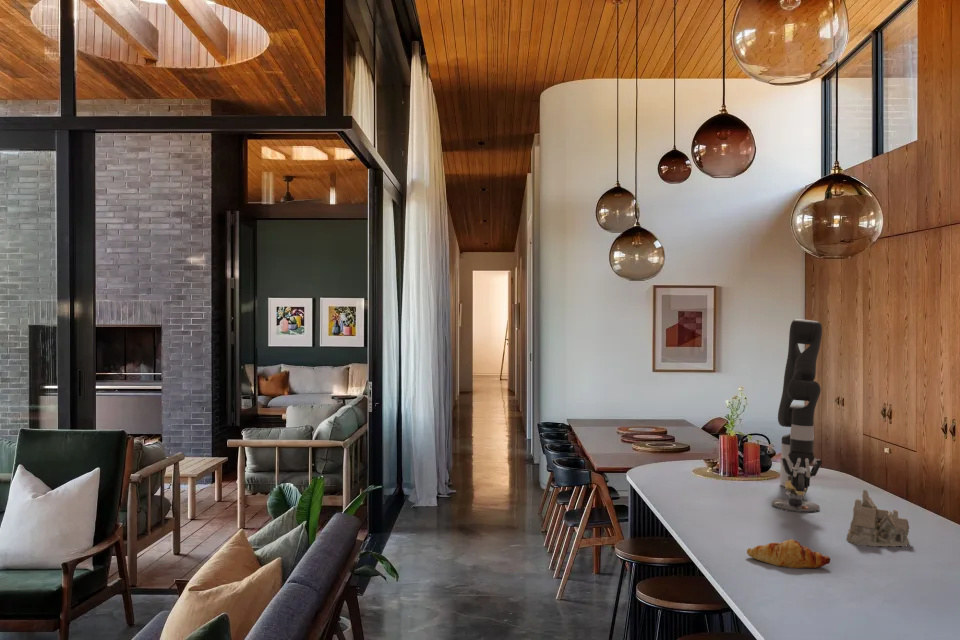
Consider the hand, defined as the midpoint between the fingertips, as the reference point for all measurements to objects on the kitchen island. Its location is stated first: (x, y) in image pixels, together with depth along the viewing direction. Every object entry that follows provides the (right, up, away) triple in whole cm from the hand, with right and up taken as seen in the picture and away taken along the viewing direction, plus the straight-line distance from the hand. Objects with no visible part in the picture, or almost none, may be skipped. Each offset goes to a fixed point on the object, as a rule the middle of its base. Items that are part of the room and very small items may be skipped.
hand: (800, 487), depth 264 cm
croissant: (-27, -9, -56) cm, 63 cm away
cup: (+10, -10, +24) cm, 28 cm away
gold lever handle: (+1, -3, +6) cm, 6 cm away
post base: (+2, -9, +9) cm, 13 cm away
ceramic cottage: (+9, -9, -33) cm, 36 cm away
